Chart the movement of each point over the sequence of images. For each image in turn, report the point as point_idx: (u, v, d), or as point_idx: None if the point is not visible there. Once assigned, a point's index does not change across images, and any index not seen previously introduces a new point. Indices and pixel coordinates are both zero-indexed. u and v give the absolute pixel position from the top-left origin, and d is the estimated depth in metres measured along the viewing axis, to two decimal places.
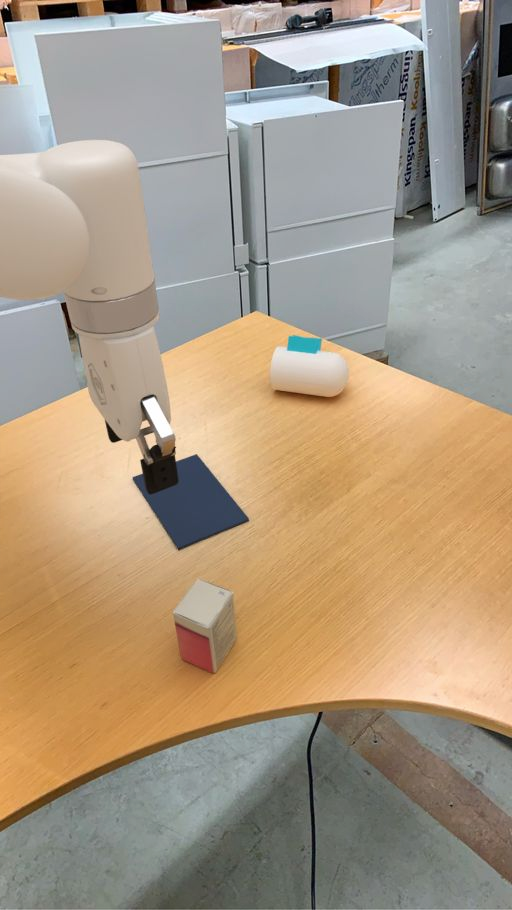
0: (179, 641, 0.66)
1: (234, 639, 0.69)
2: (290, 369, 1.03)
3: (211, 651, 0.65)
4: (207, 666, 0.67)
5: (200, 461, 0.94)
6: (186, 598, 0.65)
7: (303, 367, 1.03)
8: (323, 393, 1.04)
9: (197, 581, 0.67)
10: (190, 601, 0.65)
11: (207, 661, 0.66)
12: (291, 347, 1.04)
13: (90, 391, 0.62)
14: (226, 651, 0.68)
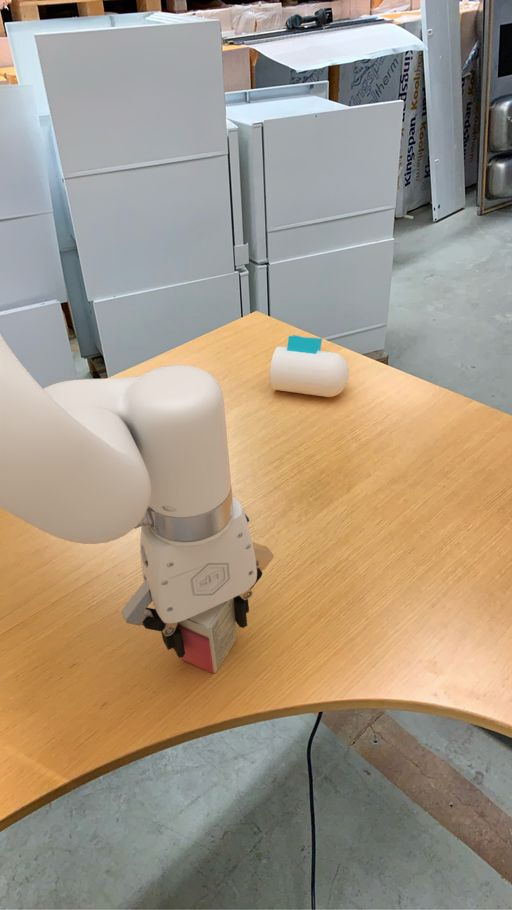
0: None
1: (234, 639, 0.69)
2: (290, 369, 1.03)
3: (211, 651, 0.65)
4: (207, 666, 0.67)
5: None
6: None
7: (303, 367, 1.03)
8: (323, 393, 1.04)
9: None
10: None
11: (207, 661, 0.66)
12: (291, 347, 1.04)
13: (178, 613, 0.59)
14: (226, 651, 0.68)
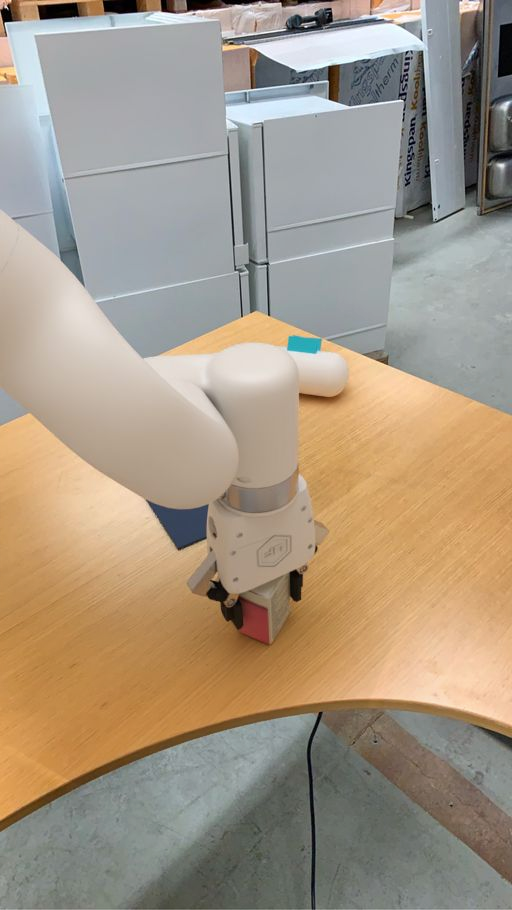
0: None
1: (288, 612, 0.72)
2: None
3: (269, 622, 0.67)
4: (263, 637, 0.69)
5: None
6: None
7: (303, 367, 1.03)
8: (323, 393, 1.04)
9: None
10: None
11: (264, 632, 0.68)
12: (291, 347, 1.04)
13: (242, 583, 0.62)
14: (281, 624, 0.70)
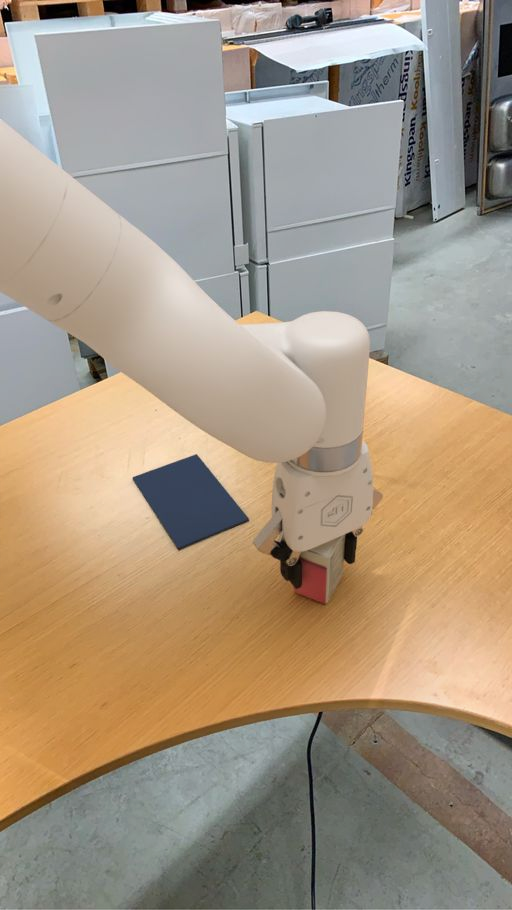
0: None
1: (341, 575, 0.76)
2: None
3: (327, 581, 0.71)
4: (320, 597, 0.73)
5: (200, 461, 0.94)
6: None
7: None
8: None
9: None
10: None
11: (321, 591, 0.72)
12: None
13: (306, 541, 0.66)
14: (335, 585, 0.74)
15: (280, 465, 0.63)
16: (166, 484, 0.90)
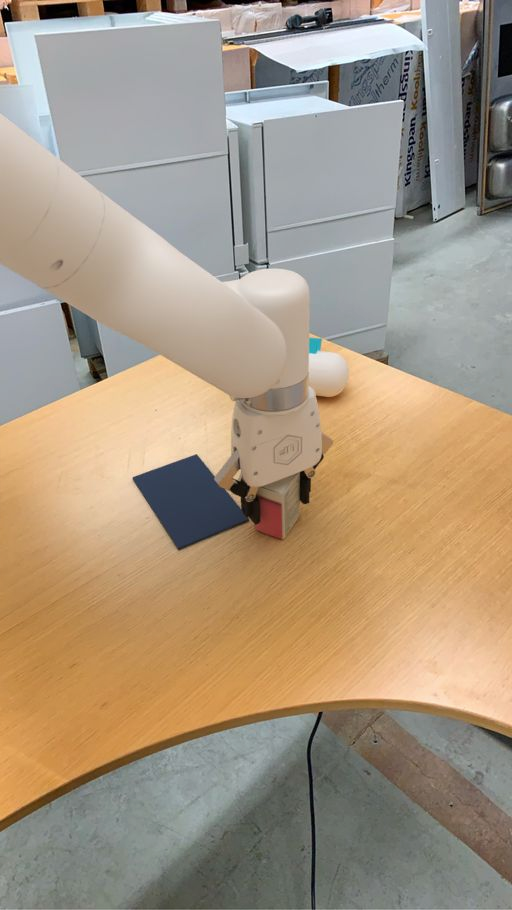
0: None
1: (298, 515, 0.84)
2: None
3: (282, 517, 0.79)
4: (277, 533, 0.81)
5: (200, 461, 0.94)
6: None
7: None
8: (323, 393, 1.04)
9: None
10: None
11: (278, 527, 0.80)
12: None
13: (261, 477, 0.74)
14: (292, 523, 0.82)
15: (236, 407, 0.71)
16: (166, 484, 0.90)
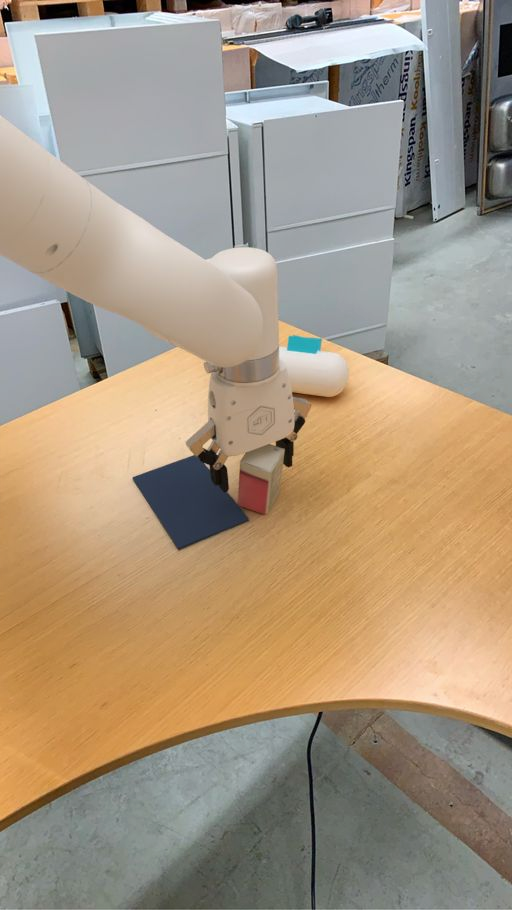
0: (240, 488, 0.84)
1: (278, 492, 0.88)
2: (290, 369, 1.03)
3: (267, 493, 0.83)
4: (261, 508, 0.85)
5: (200, 461, 0.94)
6: (249, 452, 0.83)
7: (303, 367, 1.03)
8: (323, 393, 1.04)
9: None
10: (253, 454, 0.82)
11: (262, 503, 0.84)
12: (291, 347, 1.04)
13: (236, 447, 0.78)
14: (273, 499, 0.86)
15: (211, 380, 0.75)
16: (166, 484, 0.90)
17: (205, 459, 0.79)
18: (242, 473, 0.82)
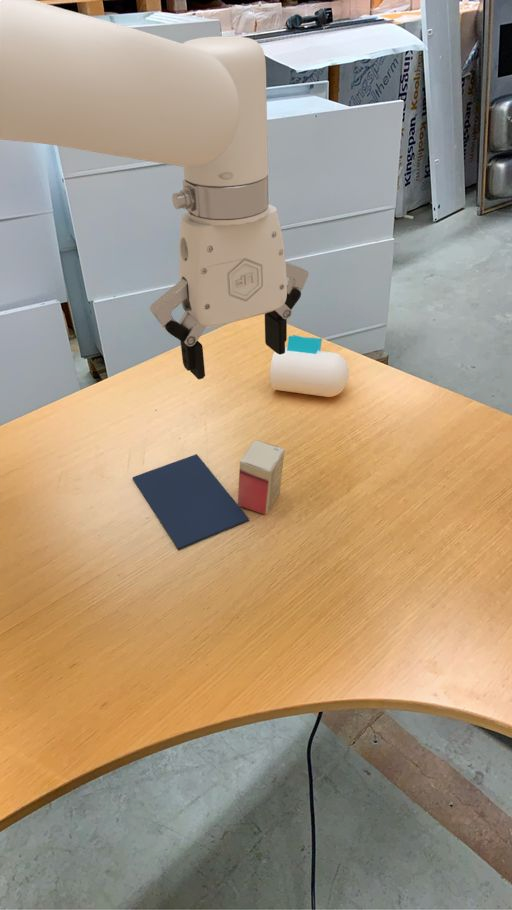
0: (240, 488, 0.84)
1: (278, 492, 0.88)
2: (290, 369, 1.03)
3: (267, 493, 0.83)
4: (261, 508, 0.85)
5: (200, 461, 0.94)
6: (249, 452, 0.83)
7: (303, 367, 1.03)
8: (323, 393, 1.04)
9: (255, 441, 0.84)
10: (253, 454, 0.82)
11: (262, 503, 0.84)
12: (291, 347, 1.04)
13: (214, 313, 0.63)
14: (273, 499, 0.86)
15: (183, 222, 0.60)
16: (166, 484, 0.90)
17: (174, 330, 0.64)
18: (242, 473, 0.82)
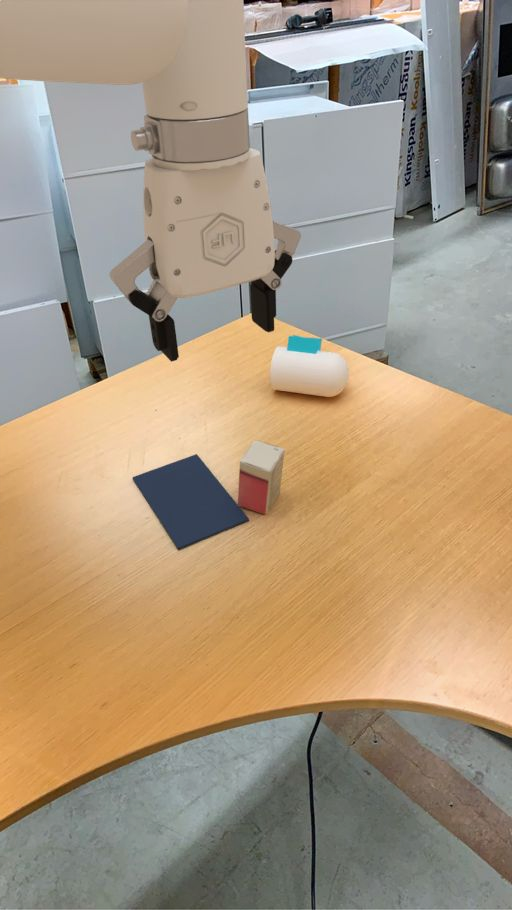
0: (240, 488, 0.84)
1: (278, 492, 0.88)
2: (290, 369, 1.03)
3: (267, 493, 0.83)
4: (261, 508, 0.85)
5: (200, 461, 0.94)
6: (249, 452, 0.83)
7: (303, 367, 1.03)
8: (323, 393, 1.04)
9: (255, 441, 0.84)
10: (253, 454, 0.82)
11: (262, 503, 0.84)
12: (291, 347, 1.04)
13: (186, 281, 0.52)
14: (273, 499, 0.86)
15: (145, 169, 0.49)
16: (166, 484, 0.90)
17: (140, 302, 0.53)
18: (242, 473, 0.82)
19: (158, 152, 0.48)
